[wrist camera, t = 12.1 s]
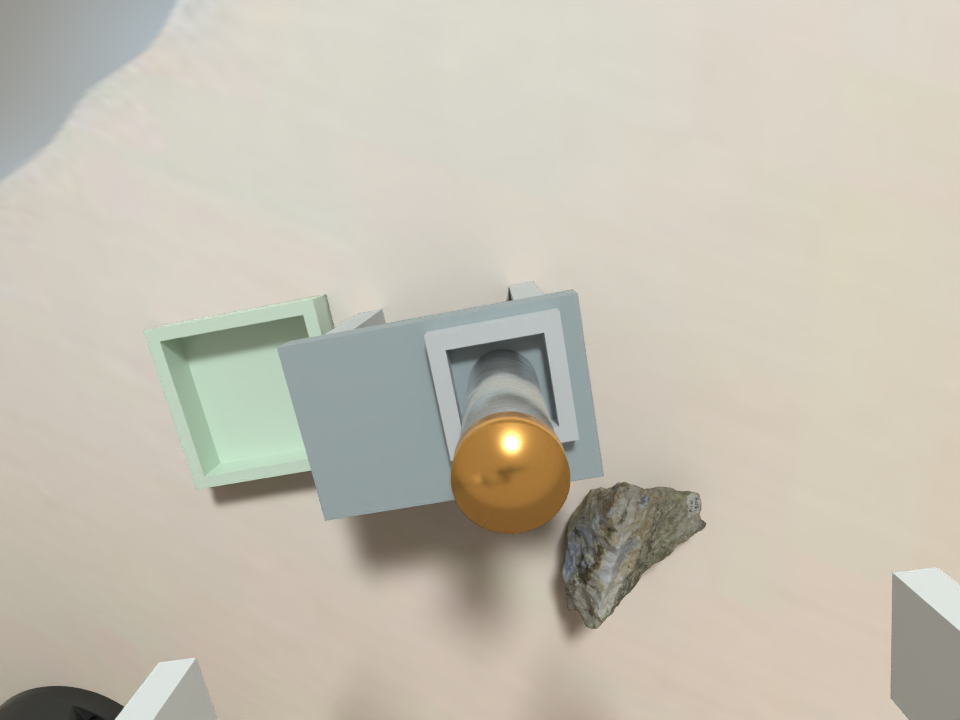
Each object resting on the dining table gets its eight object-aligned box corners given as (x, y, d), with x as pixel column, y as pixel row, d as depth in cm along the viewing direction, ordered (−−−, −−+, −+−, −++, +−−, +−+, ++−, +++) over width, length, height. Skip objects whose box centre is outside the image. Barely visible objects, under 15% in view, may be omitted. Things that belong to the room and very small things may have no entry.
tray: (217, 471, 38) (196, 489, 35) (169, 323, 35) (143, 331, 33) (364, 446, 37) (354, 463, 35) (326, 294, 35) (312, 299, 32)
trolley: (374, 453, 37) (324, 549, 26) (340, 313, 35) (268, 352, 24) (573, 420, 36) (610, 504, 25) (551, 274, 34) (581, 295, 23)
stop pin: (473, 422, 25) (462, 541, 16) (459, 354, 25) (439, 434, 15) (544, 410, 25) (578, 523, 15) (532, 341, 24) (560, 413, 15)
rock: (636, 497, 29) (724, 495, 35) (563, 439, 33) (653, 447, 40) (553, 659, 31) (649, 630, 38) (496, 585, 36) (591, 571, 42)
